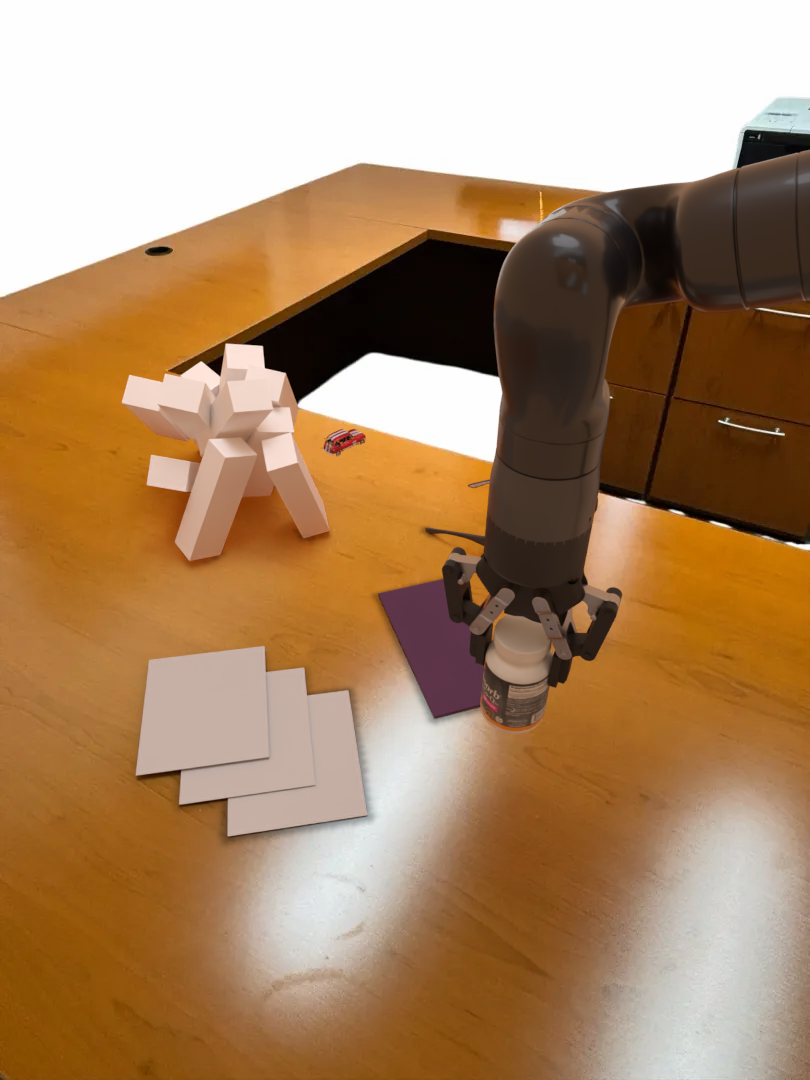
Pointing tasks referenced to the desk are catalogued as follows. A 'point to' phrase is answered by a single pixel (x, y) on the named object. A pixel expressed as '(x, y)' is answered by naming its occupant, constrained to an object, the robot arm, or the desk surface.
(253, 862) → the desk surface
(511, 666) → the pill bottle
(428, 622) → the cloth
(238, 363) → the pile of blocks
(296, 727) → the paper stack
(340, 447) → the toy car
